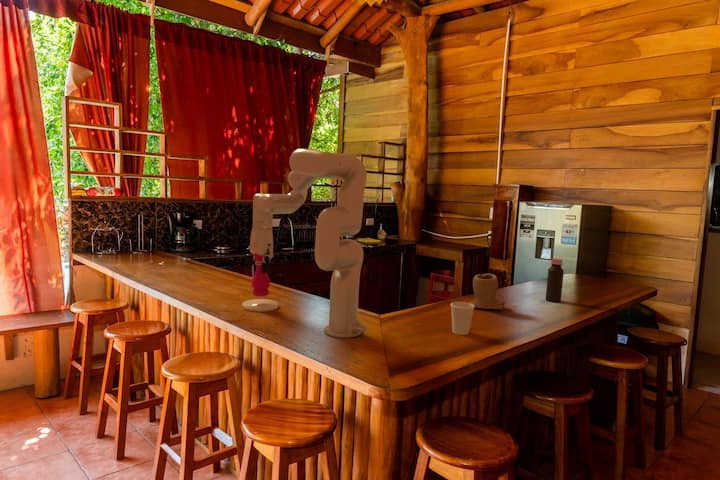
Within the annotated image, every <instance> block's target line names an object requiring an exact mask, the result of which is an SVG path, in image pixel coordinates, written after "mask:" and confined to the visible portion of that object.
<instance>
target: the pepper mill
mask: <svg viewBox="0 0 720 480" xmlns="http://www.w3.org/2000/svg"><path fill="white" fill-rule="evenodd" d="M266 254H268V253H266ZM266 254H264V255H266ZM254 257H255V259H256V261H255V260H254V261H255V264H256V271H255V272H254V276H253V277H252V280H251V286H252V288H253V290H252V295H253V296H255V297H267V296H269V294H270V291H269V288H270V286H271V280H270V277H269V273H262V263H263V259H262V257H263V256H262V255H258V254H256V253H254ZM266 257H268V256H265V259H266Z"/></svg>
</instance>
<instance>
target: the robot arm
mask: <svg viewBox="0 0 720 480" xmlns="http://www.w3.org/2000/svg"><path fill="white" fill-rule="evenodd" d="M288 165H289V167H290V170H291V171H290V172H289V173H288V175H287V182H288V184H289V186H290V187H291V188H292V190H291V191H290V192H289V193H255V194H253V200H252V201H253V202H252V228H251V233H250V240H249V241H250V242H249V252H250V253H251V255H252V260H253V271H255V272H256V264H255V261H256V259H255V257H254V253H256V254H258V255H262V256H263V257H262V259H263V263H262V273H267V274H269V273H270V263H271V260H272V259H273V258H274V257H275V256H274V255H275V254H274V236H273V218H274V217H273V215H281V214H282V215H284V214H285V215H286V214H288V215H290V214H293V213H295V212H296V211H297V210H298V209H299V208H301V207H302V206H303V204H304V203H305V201H306V200H307V196H308V189H309V188H311V186H312V185H313V184H314V183H315V182H317V180H319V179H325V180H326V179H327V180H342V181H343V182H342V184H341V185H340V187H339V190H338V193H337V203H336V206H330V207H326V208H324V209H323V210H322V211H320V214H319V215H318V217H317V221H316V227H315V243H314V260H315V263H316V265H317V266H318V268H319V269H321V270H322V271H324V272H331V271H332V275H331V280H330V293H329V296H330V297H329V312H328V313H329V314H328V315H329V317H328V319H329V320H328V325H326V326H325V327H324V328H323V332H324V334H325V335H327V336H330V337H333V338H341V339H342V338H343V339H344V338H347V339H348V338H356V337H358V336H360V335H361V334H365V333H366V332H367V327H368V326H367V325H364V324H361V319H358V313H359V312H358V311H359V310H358V308H359V292H360V290H359V289H360V278H361V269H362V266H363V261H364V249H363V247H362V245H361V244H360V243H359V242H358V241H357V240H355V239H349V238H348V239H341V237H350V236H354V235H357V234H358V233H360V231H361V228H362V223H363V214H364V213H363V209H364V195H365V189H366V184H367V178H368V177H367V174H368V173H367V169H366V166H365V164H364V162H363V161H362V160H361V159H360V158H358V157H356V156H354V155H351V154H347V153H339V152H331V151H324V150H323V151H321V150H318V149H310V148H305V147H304V148H302V147H301V148H297V149H296V150H294V151H293V152H292V154H291V155H290V157H289V164H288ZM266 253H268V254H266ZM264 254H266V255H264ZM265 256H268V257H266V259H265Z"/></svg>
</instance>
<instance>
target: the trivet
mask: <svg viewBox="0 0 720 480" xmlns="http://www.w3.org/2000/svg"><path fill="white" fill-rule="evenodd" d="M241 304H242V305H241V308H242V309H243V310H245V311H249V312H257V313H258V312H259V313H262V312H272V311H275V310H278V308H279V302H278V301H276V300H273V299H265V298H259V299H258V298H255V299H254V298H253V299H248V300H244V301H243V302H242V303H241Z"/></svg>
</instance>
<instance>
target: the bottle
mask: <svg viewBox="0 0 720 480" xmlns="http://www.w3.org/2000/svg"><path fill="white" fill-rule="evenodd" d="M550 265H551V266H550V267H549V268H548V269H547V280H546V292H545V300H546V302H551V303H561V301H562V294H563V293H562V292H563V282H564V271H565V270H564V269H563V268H562V266H563V259H562V258H551V262H550Z"/></svg>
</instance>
